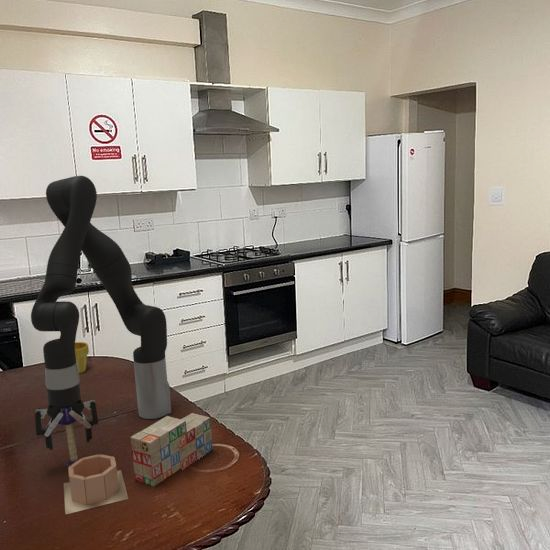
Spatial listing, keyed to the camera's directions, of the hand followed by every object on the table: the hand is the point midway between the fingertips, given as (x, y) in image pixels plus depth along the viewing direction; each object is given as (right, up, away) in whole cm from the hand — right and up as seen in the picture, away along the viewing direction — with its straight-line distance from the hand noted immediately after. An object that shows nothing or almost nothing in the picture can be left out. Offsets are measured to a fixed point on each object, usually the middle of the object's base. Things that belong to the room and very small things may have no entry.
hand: (69, 444), depth 136 cm
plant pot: (-23, +6, +69) cm, 73 cm away
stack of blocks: (+26, -6, 0) cm, 27 cm away
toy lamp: (+1, -6, +1) cm, 6 cm away
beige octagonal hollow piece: (+10, -7, -11) cm, 16 cm away
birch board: (+10, -8, -11) cm, 17 cm away
